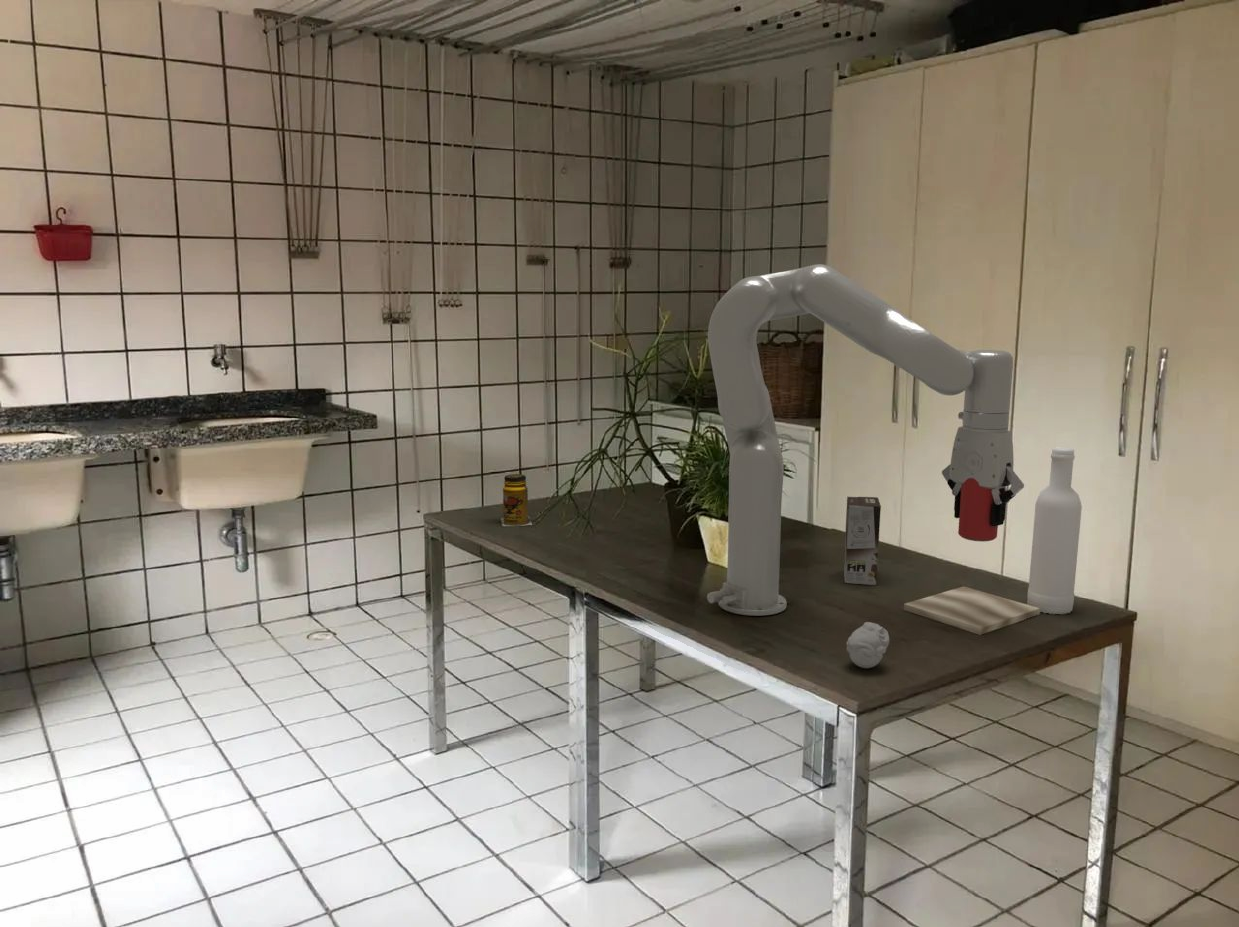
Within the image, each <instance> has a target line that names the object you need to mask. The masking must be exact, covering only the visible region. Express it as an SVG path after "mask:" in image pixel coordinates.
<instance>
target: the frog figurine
mask: <svg viewBox="0 0 1239 927" xmlns="http://www.w3.org/2000/svg"><path fill="white" fill-rule="evenodd" d="M889 644H890V636H889V633H888V630H886V629H885V628H884V627H883V626H881V625H880V624H878V623H874V622H870V621H866V622H864V623H863V625H861V626H860V627H858V628H856V629H855V630H854V631H853V632H851V634H850V636H849V637H848V639H847V641H846V651H847V652H848V653H849V657H850V660H851V661H852V663H854V664H855V665H856V666H857V667H859V668H861V669H870V668H874V667H875V666H877V665H878V664H879V663H880V661H882V659H883V655H884V654H885V653H887V652H886V651H887V648H888V646H889Z"/></svg>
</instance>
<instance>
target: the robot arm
mask: <svg viewBox="0 0 1239 927" xmlns="http://www.w3.org/2000/svg"><path fill="white" fill-rule="evenodd" d="M807 314H810V315H812V316H814V317H816V318H817V319H818V320H820V321H822V322H823V323H824V324H826V325H828V326H830V328H832V329H834V330H835V331H837V332H839V333H840V334H841V335H843V336H844V337H846V338H848V339H849V340H850V341H852V342H854V343H855V344H857V345H859V346H860V347H862V348H864V349H865V350H866V351H868V352H870V353H871V354H874V355H876V356H878V357H881V358H882V359H885V360H887V361H889V362H890V363H892V364H893V365H895V366H897V367H899V368H900V369H901V370H903V371H905V372H907V374H909V375H911V376H912V377H914V378H916V379H917V380H918V381H920V382H921V383H923V384H924V385H925V386H926V387H928V388H930V389H931V390H933V391H935V392H937V394H940V395H943V396H956V395H960V394H962V393H963V392H964V398H963V399H964V400H963V402H964V403H963V411H960V412H959V413H958V415H957V416H958V419H959V420H962V426H959V427H957V430H956V434H955V436H954V441H953V446H952V451H951V457H950V458H951V459H950V464H949V465H947V466H946V467H945V468H944V469H942V470H941V474H942V476H943V478H944V479H945V481H947V482H946V483H947V485H948V487H949V488H950V489H951V494H952V496H954V504H953V506H954V507H953V511H954V515H953V516H954V519H959V515H960V500H961V485H962V484H963V483H964V482H965V481H966V480H967V479H968V478H974V479H975V480H976V481H977V482H978V483H979V486H981V487H983V488H986V489H991V492H992V495H993V498H994V501H995V503H994V504H992V505H991V515H990V525H991V526H998V527H999V526H1002V525H1004V523H1005V520H1006V511H1007V504H1008V503H1009V502H1010V501H1011V500H1012V499H1013V498H1014V497H1015V496H1016V495H1017V494H1018V493H1020V492H1021V491H1022V490H1023V489H1024V487H1025V483H1024V482H1023V481H1022V480H1021V479H1020V478H1019V476H1018V475H1017V474H1016V472H1015V471H1014V443H1013V442H1014V441H1013V436H1012V431H1011V430H1009V422H1010V412H1011V411H1010V409H1011V408H1010V407H1011V395H1012V382H1013V369H1014V357H1013V355H1012V353H1010V352H1009V351H1004V350H996V349H979V350H972V351H970V350H961V349H956V348H955V347H953V346H951V345H950V344H949V343H947V342H946V341H944V340H942V339H941V338H939V337H938V336H937V335H935V334H933V333H931V332H930V331H928V330H927V329H926V328H924V327H922V326H921V325H920V324H918V323H916V322H914V321H913V320H912V319H910V318H909V317H907V315H905V314H904V313H902V312H901V311H900V310H898V309H897V308H895V307H894V306H892V305H891V304H889V303H888V302H886V301H885V300H883V299H882V298H880V297H878V296H877V295H875V294H873V293H872V292H870V291H869V290H867V289H866V288H865V287H862V286H861V285H859V284H858V283H856V282H855V281H854V280H852V279H851V278H849V277H847V276H846V275H844V274H843V273H841V272H839V271H838V270H836V269H835V268H833V267H832V266H830V265H826V264H823V263H822V264H821V263H820V264H819V263H818V264H812V265H811V264H810V265H807V266H805V267H804V266H803V267H799V268H795V269H794V268H793V269H790V270H785V271H779V272H774V273H768V274H767V273H766V274H762V275H761V274H760V275H756V276H755V275H754V276H748V277H745V278H743V279H741V280H739V281H737V282H736V283H735V284H734V285H733V286H732V287H731V288H730V289H729V290H728V291H726V293H724V295H723V296H722V297H721V298H720V300H718V302H717V304H716V306H715V307H714V309H713V311H712V313H711V316H710V319H709V323H708V328H707V342H708V343H707V344H708V352H709V356H710V362H711V363H710V364H711V368H712V374H713V379H714V383H715V384H714V385H715V389H716V394H717V406H718V407H717V408H718V412H719V415H720V417H721V418H722V423H723V427H724V428H723V429H724V432H725V437H726V438H725V439H726V442H727V445H728V446H727V448H728V451H729V464H728V468H729V469H728V514H727V515H728V521H727V522H728V533H727V534H728V535H727V538H728V539H727V565H726V566H727V569H726V570H727V571H726V573H727V574H726V575H727V576H726V581H725V582H723V583H722V588H720V589H719V590H716V591H711V592H708V593H707V595H706V600H707V601H708V603H710V604H713V603H717V605H718V606H719V607H720V608H721V609H722V610H725V611H727V612H729V613H732V614H736V615H741V616H754V617H756V616H757V617H758V616H761V617H762V616H763V617H764V616H772V615H776V614H779V613H782V612H783V611H785V610H786V608H787V603H788V602H787V599H786V598H785V597H784V596H782V595H781V594H779V587H780V586H779V585H780V583H779V582H780V561H781V560H780V558H781V530H782V529H781V527H782V526H781V525H782V524H781V523H782V501H783V499H782V498H783V486H784V473H785V472H784V470H785V467H784V466H785V465H784V457H783V454H782V450H781V446H780V442H779V438H778V432H777V427H776V422H775V416H774V412H773V407H772V403H771V397H770V392H769V390H768V388H767V385H766V384H765V381H764V377H763V371H762V366H761V360H760V355H759V354H760V353H759V350H758V344H757V335H758V331H759V329H760V327H761V326H762V325H763V324H764V323H766V322H769V321H774V320H779V319H785V318H791V317H796V316H797V317H798V316H802V315H807ZM972 474H973V475H972ZM1009 486H1010V487H1009ZM1007 487H1009V489H1007ZM999 489H1000V492H999Z"/></svg>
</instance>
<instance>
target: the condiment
mask: <svg viewBox="0 0 1239 927" xmlns="http://www.w3.org/2000/svg"><path fill="white" fill-rule="evenodd" d="M503 479H504V483H503V484H504V486H503V487H502V492H503V493H502V494H503V495H502V496H503V498H502V499H503V500H502V502H503V503H502V506H503V507H502V508H503V517H500V521H501V526H502V527H520V526H521V527H523V526H532V525H533V523H532V521H531V516H529V501H528V499H529V498H528V497H529V493H528V492H529V490H528V486H527V482H526V481H527V480H526V479H527V477H526V475H525V474H521V473H514V474H513V473H511V474H507V475H504V478H503Z"/></svg>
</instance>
